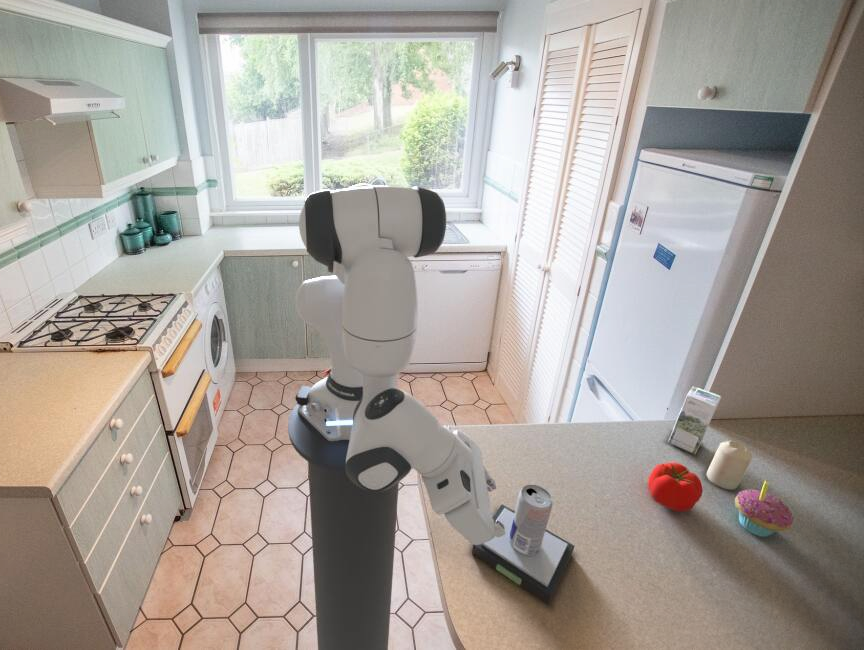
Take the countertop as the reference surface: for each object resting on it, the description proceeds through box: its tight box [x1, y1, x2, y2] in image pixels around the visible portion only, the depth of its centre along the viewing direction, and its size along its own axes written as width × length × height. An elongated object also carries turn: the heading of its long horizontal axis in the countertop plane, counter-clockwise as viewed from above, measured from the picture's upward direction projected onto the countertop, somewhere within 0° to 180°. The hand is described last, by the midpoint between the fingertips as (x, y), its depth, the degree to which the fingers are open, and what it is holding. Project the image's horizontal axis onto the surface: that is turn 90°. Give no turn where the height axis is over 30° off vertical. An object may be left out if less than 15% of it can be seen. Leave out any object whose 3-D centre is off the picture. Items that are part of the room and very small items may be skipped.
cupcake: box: [734, 478, 795, 537], centre depth 86 cm, size 9×8×12 cm
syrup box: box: [667, 385, 722, 455], centre depth 106 cm, size 6×6×14 cm
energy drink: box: [509, 483, 553, 556], centre depth 79 cm, size 5×5×12 cm
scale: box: [471, 503, 575, 605], centre depth 82 cm, size 14×12×3 cm
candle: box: [706, 439, 754, 491], centre depth 97 cm, size 6×6×10 cm
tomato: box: [647, 462, 703, 512], centre depth 93 cm, size 9×9×8 cm
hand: (496, 508), depth 79 cm, fingers open, 8 cm apart
